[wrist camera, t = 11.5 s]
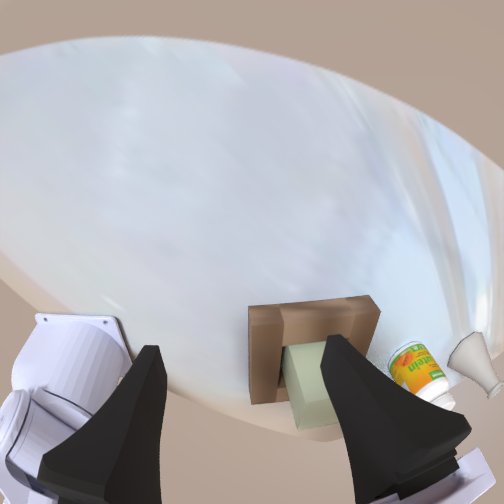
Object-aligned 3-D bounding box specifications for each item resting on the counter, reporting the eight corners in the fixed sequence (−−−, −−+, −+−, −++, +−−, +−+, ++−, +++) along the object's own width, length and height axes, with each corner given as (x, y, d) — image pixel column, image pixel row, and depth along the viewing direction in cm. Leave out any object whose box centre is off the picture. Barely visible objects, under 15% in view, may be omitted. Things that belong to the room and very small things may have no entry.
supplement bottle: (425, 333, 28) (467, 390, 20) (419, 360, 31) (452, 413, 22) (389, 350, 28) (427, 413, 20) (385, 376, 31) (415, 434, 22)
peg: (280, 363, 27) (297, 430, 20) (284, 330, 25) (305, 402, 18) (322, 358, 27) (347, 420, 20) (330, 325, 25) (362, 391, 18)
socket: (248, 386, 28) (251, 404, 26) (248, 306, 23) (251, 325, 21) (345, 373, 29) (352, 389, 27) (368, 295, 24) (381, 311, 22)
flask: (486, 325, 31) (521, 365, 22) (468, 358, 34) (497, 397, 25) (459, 336, 30) (496, 383, 22) (440, 370, 34) (470, 415, 25)
